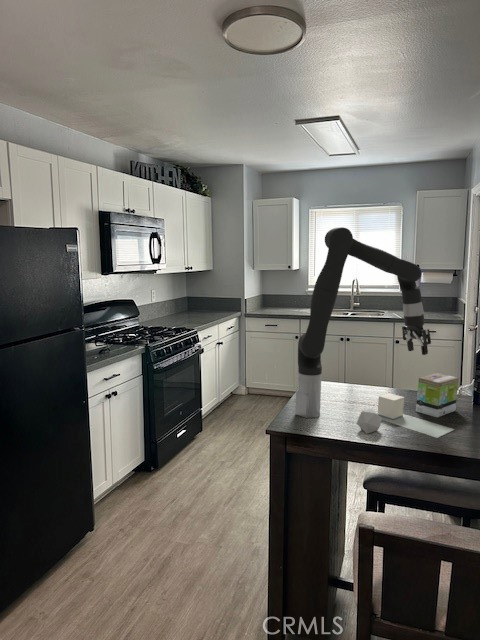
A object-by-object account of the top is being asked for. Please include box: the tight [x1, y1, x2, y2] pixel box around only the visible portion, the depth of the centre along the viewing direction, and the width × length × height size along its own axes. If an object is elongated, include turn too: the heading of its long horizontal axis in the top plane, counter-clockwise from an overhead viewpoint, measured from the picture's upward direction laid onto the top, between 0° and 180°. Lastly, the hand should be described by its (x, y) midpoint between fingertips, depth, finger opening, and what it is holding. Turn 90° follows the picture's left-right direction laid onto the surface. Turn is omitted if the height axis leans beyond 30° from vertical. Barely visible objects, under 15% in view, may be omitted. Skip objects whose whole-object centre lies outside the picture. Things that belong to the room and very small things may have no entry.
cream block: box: [377, 392, 405, 420], centre depth 185 cm, size 7×7×8 cm
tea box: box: [415, 372, 459, 418], centre depth 192 cm, size 15×10×15 cm
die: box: [356, 408, 383, 435], centre depth 170 cm, size 8×9×10 cm
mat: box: [376, 412, 456, 439], centre depth 179 cm, size 13×28×1 cm, turn 39°
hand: (417, 352), depth 188 cm, fingers open, 8 cm apart
